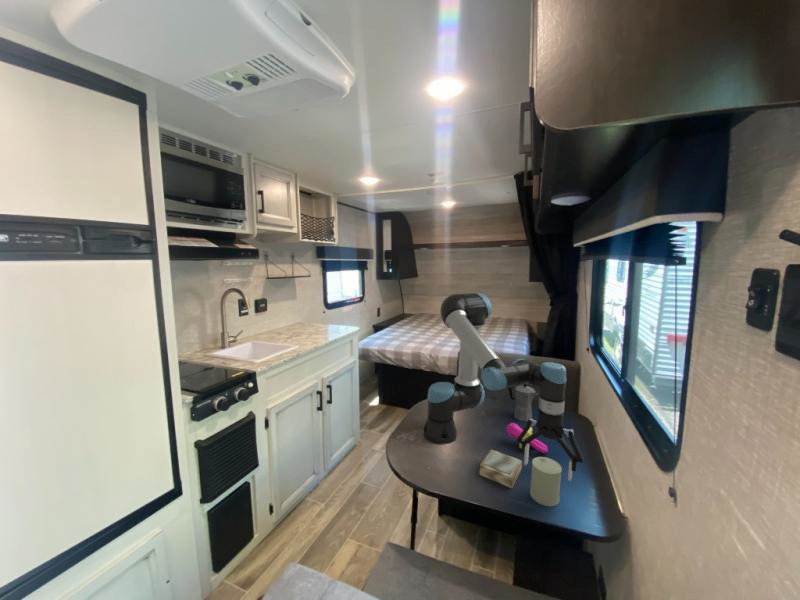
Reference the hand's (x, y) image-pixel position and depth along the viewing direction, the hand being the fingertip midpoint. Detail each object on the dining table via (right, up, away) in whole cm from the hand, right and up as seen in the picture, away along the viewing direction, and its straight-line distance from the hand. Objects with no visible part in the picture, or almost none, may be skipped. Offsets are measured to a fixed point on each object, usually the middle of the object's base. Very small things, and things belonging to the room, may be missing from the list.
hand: (547, 470), depth 107 cm
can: (0, -10, +2) cm, 10 cm away
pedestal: (-11, -8, +13) cm, 19 cm away
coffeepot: (+13, -3, +56) cm, 58 cm away
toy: (+5, -6, +30) cm, 31 cm away
